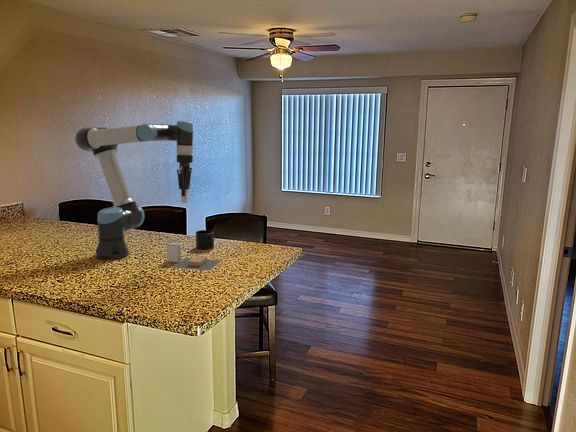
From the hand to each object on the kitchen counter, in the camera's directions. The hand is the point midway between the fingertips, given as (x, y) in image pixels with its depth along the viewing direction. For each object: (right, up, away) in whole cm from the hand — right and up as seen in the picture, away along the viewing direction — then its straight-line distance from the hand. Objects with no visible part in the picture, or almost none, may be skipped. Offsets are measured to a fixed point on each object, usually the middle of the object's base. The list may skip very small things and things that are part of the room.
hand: (184, 202), depth 220 cm
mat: (+8, -30, -9) cm, 32 cm away
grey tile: (-3, -29, -6) cm, 30 cm away
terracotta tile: (+9, -27, -5) cm, 29 cm away
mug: (+7, -24, +19) cm, 32 cm away
